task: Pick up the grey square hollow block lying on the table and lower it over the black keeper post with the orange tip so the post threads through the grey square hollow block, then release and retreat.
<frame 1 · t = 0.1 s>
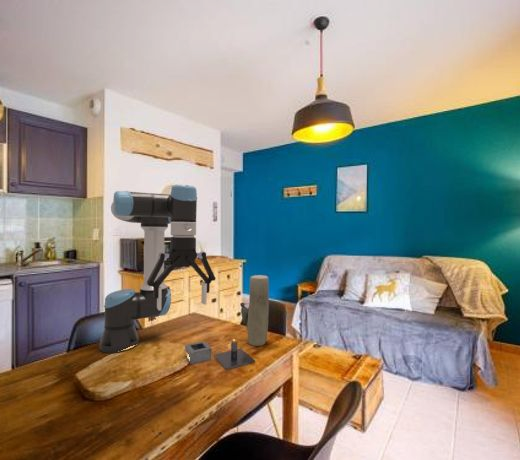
hand: (182, 306, 86), 28 cm above the table, fingers open, 13 cm apart
decorative sculpture: (253, 342, 128), on the table
keeper post: (234, 359, 111), on the table
grey square hollow block: (197, 357, 111), on the table
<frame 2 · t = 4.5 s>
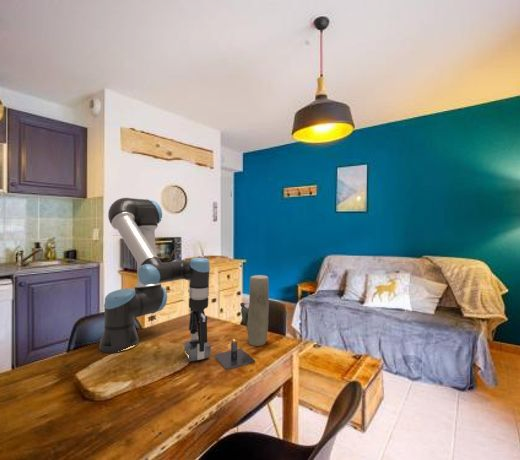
hand: (197, 353, 112), 1 cm above the table, fingers closed on grey square hollow block, 8 cm apart
grey square hollow block: (197, 354, 112), point 1 cm above the table, touching gripper
everything else where it was.
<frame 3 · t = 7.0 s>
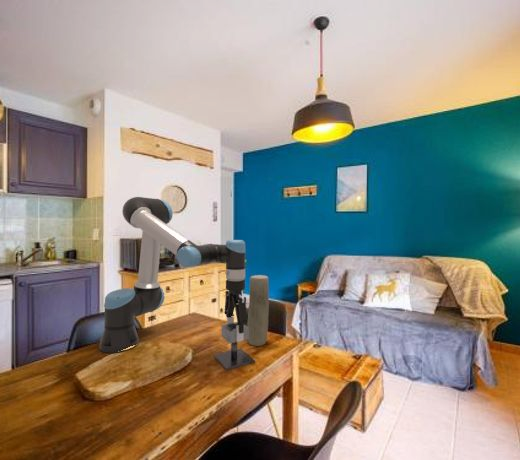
hand: (234, 337, 110), 9 cm above the table, fingers closed on grey square hollow block, 8 cm apart
grey square hollow block: (234, 337, 110), point 9 cm above the table, touching gripper
everything else where it was.
when the fingers open (2 cm above the table, at t = 9.3 s): grey square hollow block stays where it is, resting on keeper post.
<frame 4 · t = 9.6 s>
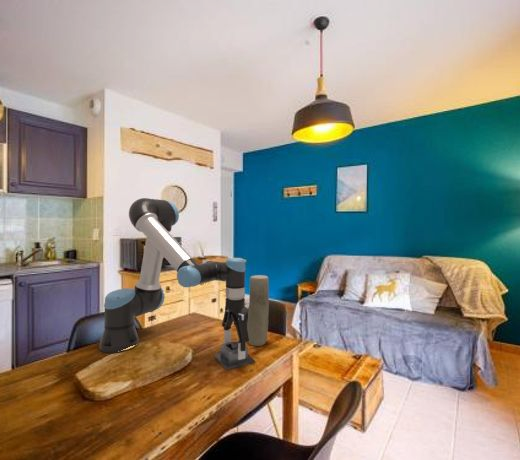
hand: (234, 352, 111), 3 cm above the table, fingers open, 12 cm apart
grey square hollow block: (234, 357, 111), point 1 cm above the table, touching keeper post
everything else where it was.
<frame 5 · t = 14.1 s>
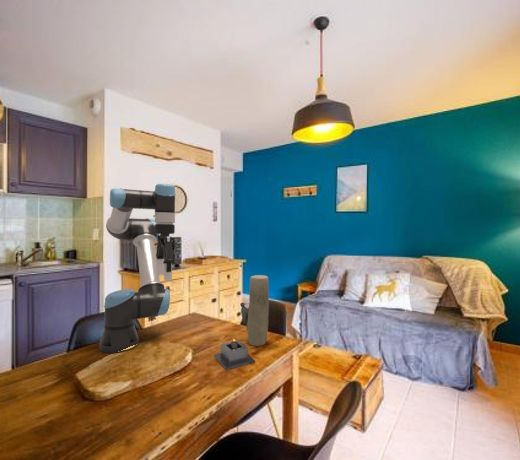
hand: (164, 277, 111), 32 cm above the table, fingers open, 13 cm apart
nothing on the table moved.
at the end: grey square hollow block 0.1 cm from the keeper post (horizontally); grey square hollow block point 0.8 cm above the table; the gripper is holding nothing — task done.
